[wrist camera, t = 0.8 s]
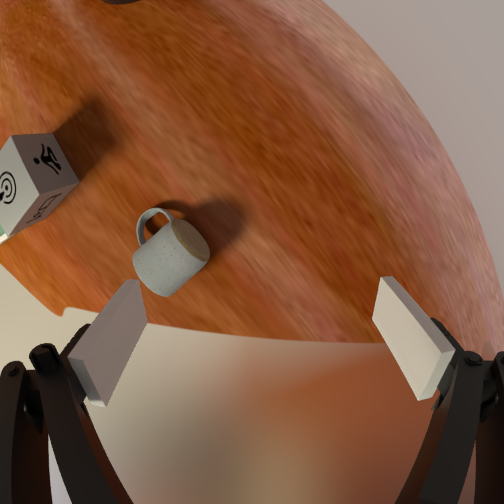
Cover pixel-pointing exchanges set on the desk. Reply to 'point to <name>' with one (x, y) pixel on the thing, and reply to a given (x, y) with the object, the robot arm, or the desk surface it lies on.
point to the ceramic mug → (169, 254)
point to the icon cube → (32, 180)
